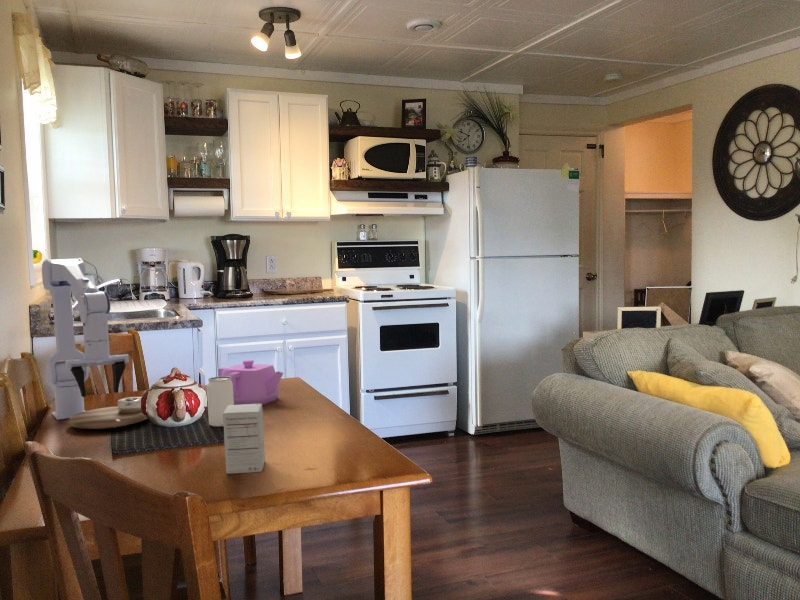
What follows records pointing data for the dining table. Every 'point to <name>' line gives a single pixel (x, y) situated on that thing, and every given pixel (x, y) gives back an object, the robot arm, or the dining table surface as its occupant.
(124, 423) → the turntable
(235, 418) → the supplement box
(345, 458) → the dining table surface
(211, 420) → the can
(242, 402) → the teakettle
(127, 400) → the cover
